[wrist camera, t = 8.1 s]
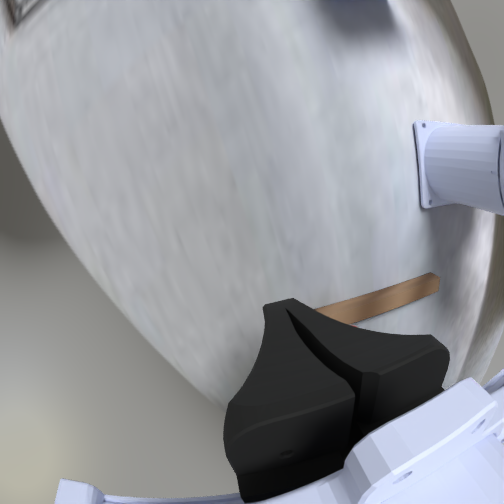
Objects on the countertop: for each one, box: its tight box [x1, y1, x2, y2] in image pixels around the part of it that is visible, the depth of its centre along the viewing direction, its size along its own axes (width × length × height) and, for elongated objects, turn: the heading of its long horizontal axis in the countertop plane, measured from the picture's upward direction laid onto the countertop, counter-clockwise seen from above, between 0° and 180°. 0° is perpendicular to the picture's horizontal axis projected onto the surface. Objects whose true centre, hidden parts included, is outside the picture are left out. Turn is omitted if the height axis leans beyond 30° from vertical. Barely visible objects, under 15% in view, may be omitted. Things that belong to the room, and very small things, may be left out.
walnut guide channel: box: [314, 272, 440, 325], centre depth 24 cm, size 16×10×2 cm, turn 99°
